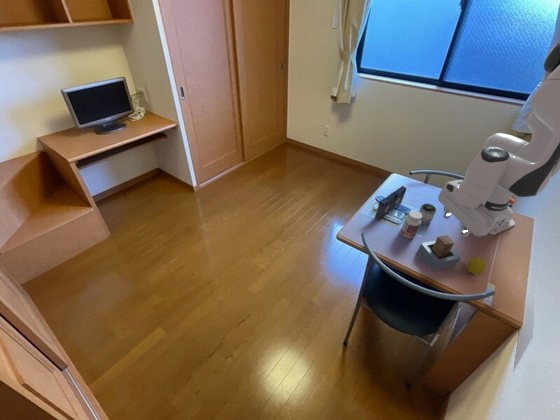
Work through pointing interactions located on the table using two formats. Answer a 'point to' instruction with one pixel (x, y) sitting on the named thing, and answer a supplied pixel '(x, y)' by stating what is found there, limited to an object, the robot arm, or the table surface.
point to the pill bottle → (411, 224)
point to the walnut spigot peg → (442, 246)
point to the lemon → (476, 265)
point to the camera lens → (427, 213)
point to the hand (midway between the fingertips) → (454, 226)
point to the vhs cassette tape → (390, 202)
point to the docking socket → (433, 260)
